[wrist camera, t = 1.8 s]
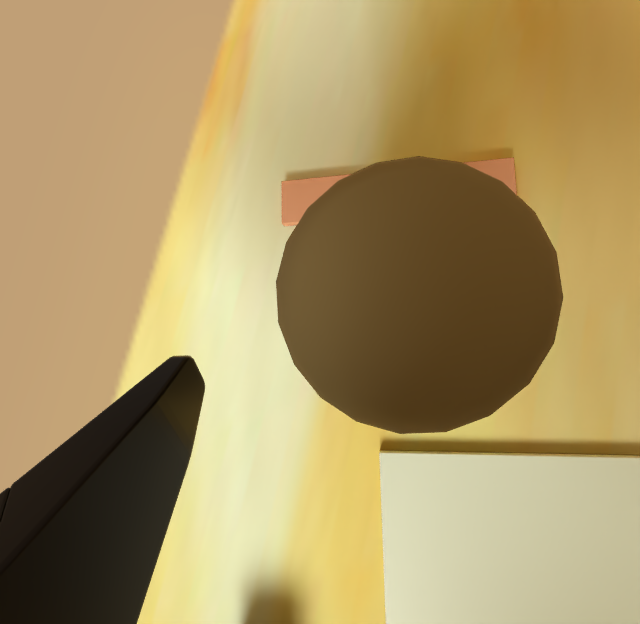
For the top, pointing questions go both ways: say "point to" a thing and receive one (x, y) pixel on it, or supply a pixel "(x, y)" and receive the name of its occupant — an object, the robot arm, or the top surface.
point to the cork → (418, 295)
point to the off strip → (309, 190)
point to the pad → (510, 538)
